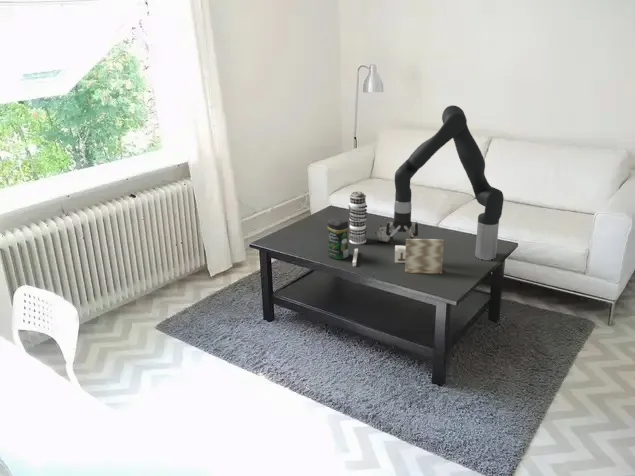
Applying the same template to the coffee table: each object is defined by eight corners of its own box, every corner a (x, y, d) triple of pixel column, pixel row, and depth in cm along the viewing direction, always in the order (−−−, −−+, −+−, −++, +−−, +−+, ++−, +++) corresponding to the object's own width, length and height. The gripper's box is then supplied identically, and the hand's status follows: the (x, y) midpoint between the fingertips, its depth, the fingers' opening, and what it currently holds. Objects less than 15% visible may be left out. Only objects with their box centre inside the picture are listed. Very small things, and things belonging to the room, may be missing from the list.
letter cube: (394, 257, 280) (395, 245, 278) (407, 257, 279) (408, 245, 277) (394, 262, 274) (395, 250, 272) (408, 263, 274) (408, 250, 271)
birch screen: (405, 272, 264) (406, 240, 258) (404, 268, 268) (405, 237, 262) (442, 273, 262) (443, 241, 256) (441, 269, 266) (443, 238, 260)
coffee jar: (325, 255, 284) (324, 218, 277) (337, 251, 288) (336, 214, 282) (339, 261, 277) (338, 223, 270) (351, 256, 282) (351, 219, 275)
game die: (387, 247, 300) (400, 232, 297) (380, 247, 293) (393, 232, 290) (375, 236, 304) (387, 221, 301) (368, 235, 296) (380, 220, 293)
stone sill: (354, 252, 286) (354, 248, 286) (357, 252, 286) (357, 248, 285) (352, 266, 272) (352, 262, 271) (355, 266, 271) (355, 262, 271)
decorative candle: (367, 237, 304) (367, 190, 295) (366, 244, 295) (367, 195, 286) (349, 237, 305) (348, 190, 296) (348, 244, 296) (347, 195, 287)
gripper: (386, 212, 265) (385, 246, 271) (419, 213, 263) (417, 247, 269) (386, 207, 272) (385, 240, 278) (418, 207, 270) (417, 241, 276)
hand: (401, 243), depth 273 cm, fingers open, 8 cm apart
